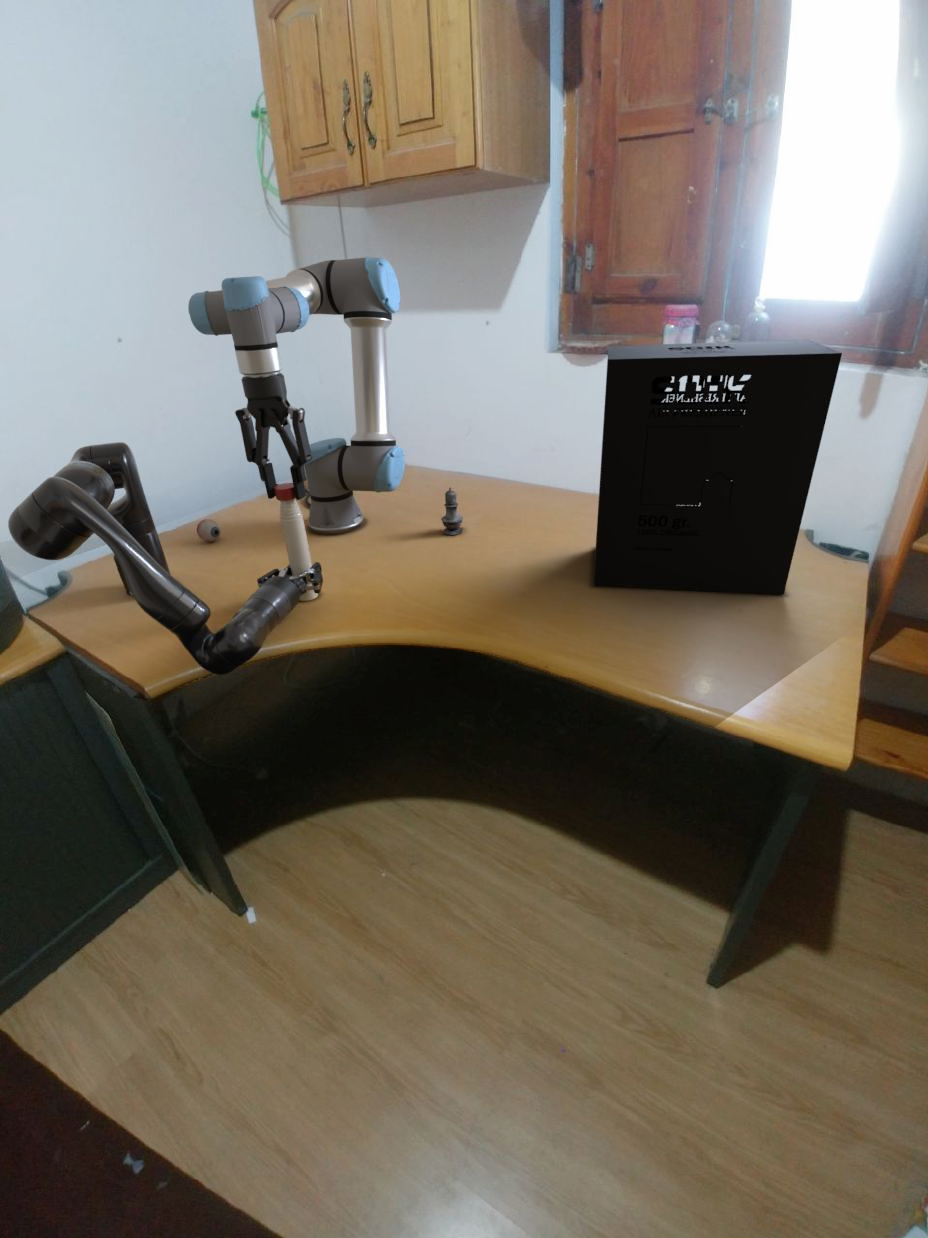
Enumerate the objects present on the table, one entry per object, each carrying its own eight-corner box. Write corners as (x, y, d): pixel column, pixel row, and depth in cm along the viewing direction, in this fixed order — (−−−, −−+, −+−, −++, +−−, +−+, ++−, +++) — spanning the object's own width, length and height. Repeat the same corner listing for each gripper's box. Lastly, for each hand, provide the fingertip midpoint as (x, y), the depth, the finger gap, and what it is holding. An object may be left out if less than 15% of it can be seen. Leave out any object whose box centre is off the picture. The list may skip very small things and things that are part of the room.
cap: (272, 499, 120) (269, 488, 119) (286, 493, 124) (284, 482, 123) (288, 502, 119) (285, 490, 118) (302, 495, 122) (300, 484, 121)
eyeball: (210, 546, 160) (204, 525, 157) (195, 542, 163) (189, 521, 160) (228, 538, 164) (223, 518, 161) (213, 535, 167) (208, 514, 164)
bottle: (307, 589, 135) (286, 483, 123) (322, 594, 133) (301, 486, 121) (292, 598, 132) (269, 490, 120) (307, 602, 130) (284, 493, 118)
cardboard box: (762, 553, 139) (808, 339, 116) (783, 594, 122) (842, 352, 99) (595, 547, 147) (608, 345, 124) (593, 585, 129) (608, 359, 107)
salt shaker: (461, 535, 158) (459, 491, 152) (439, 534, 159) (436, 490, 153) (465, 527, 163) (463, 483, 157) (444, 526, 164) (441, 483, 158)
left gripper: (302, 587, 114) (335, 550, 129) (234, 584, 117) (273, 548, 131) (309, 621, 118) (341, 582, 132) (243, 617, 120) (280, 579, 135)
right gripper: (317, 370, 110) (337, 492, 122) (230, 371, 115) (257, 489, 127) (297, 376, 104) (320, 505, 116) (205, 377, 109) (236, 501, 120)
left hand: (307, 565), depth 132 cm, fingers closed on bottle, 4 cm apart
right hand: (287, 496), depth 121 cm, fingers open, 6 cm apart
